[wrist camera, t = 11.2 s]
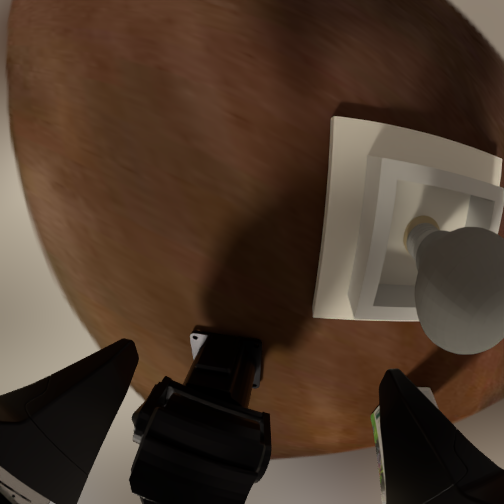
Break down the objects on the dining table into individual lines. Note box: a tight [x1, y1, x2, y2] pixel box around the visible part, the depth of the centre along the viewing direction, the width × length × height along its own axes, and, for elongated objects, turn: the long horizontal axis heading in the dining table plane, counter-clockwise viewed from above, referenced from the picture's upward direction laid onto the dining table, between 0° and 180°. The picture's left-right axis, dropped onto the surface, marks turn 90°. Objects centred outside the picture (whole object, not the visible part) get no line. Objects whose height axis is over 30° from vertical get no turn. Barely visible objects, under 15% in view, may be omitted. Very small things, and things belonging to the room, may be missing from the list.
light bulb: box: [406, 223, 504, 354], centre depth 11 cm, size 6×6×10 cm
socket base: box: [312, 116, 504, 321], centre depth 15 cm, size 14×14×4 cm
